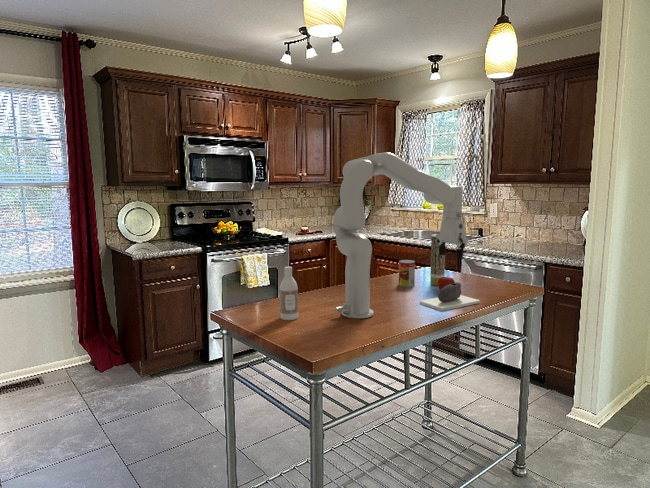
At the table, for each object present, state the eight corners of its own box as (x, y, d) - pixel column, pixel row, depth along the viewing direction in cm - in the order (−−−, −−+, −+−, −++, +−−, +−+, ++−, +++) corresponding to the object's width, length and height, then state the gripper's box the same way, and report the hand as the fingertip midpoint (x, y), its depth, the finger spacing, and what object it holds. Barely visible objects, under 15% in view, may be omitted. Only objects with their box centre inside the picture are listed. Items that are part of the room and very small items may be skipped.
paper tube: (444, 286, 225) (446, 236, 221) (430, 286, 226) (431, 235, 223) (443, 283, 232) (445, 234, 228) (430, 282, 233) (431, 234, 229)
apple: (453, 290, 217) (453, 274, 215) (456, 295, 209) (456, 278, 208) (436, 290, 217) (436, 274, 216) (438, 294, 210) (439, 278, 208)
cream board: (441, 311, 184) (441, 308, 184) (419, 303, 195) (419, 300, 195) (479, 303, 195) (479, 300, 195) (456, 296, 206) (456, 293, 206)
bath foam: (281, 321, 173) (280, 269, 170) (279, 316, 179) (277, 265, 177) (299, 320, 174) (298, 268, 171) (296, 314, 181) (295, 264, 178)
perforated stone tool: (443, 305, 188) (443, 288, 187) (433, 302, 192) (433, 286, 191) (464, 298, 198) (465, 283, 197) (454, 296, 202) (454, 281, 201)
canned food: (402, 282, 235) (403, 259, 233) (417, 284, 230) (417, 260, 228) (395, 285, 228) (396, 261, 227) (410, 287, 224) (410, 263, 222)
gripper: (475, 216, 184) (473, 258, 187) (443, 214, 199) (442, 253, 201) (461, 217, 180) (460, 260, 183) (430, 214, 195) (429, 254, 198)
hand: (450, 256), depth 192 cm, fingers open, 9 cm apart
